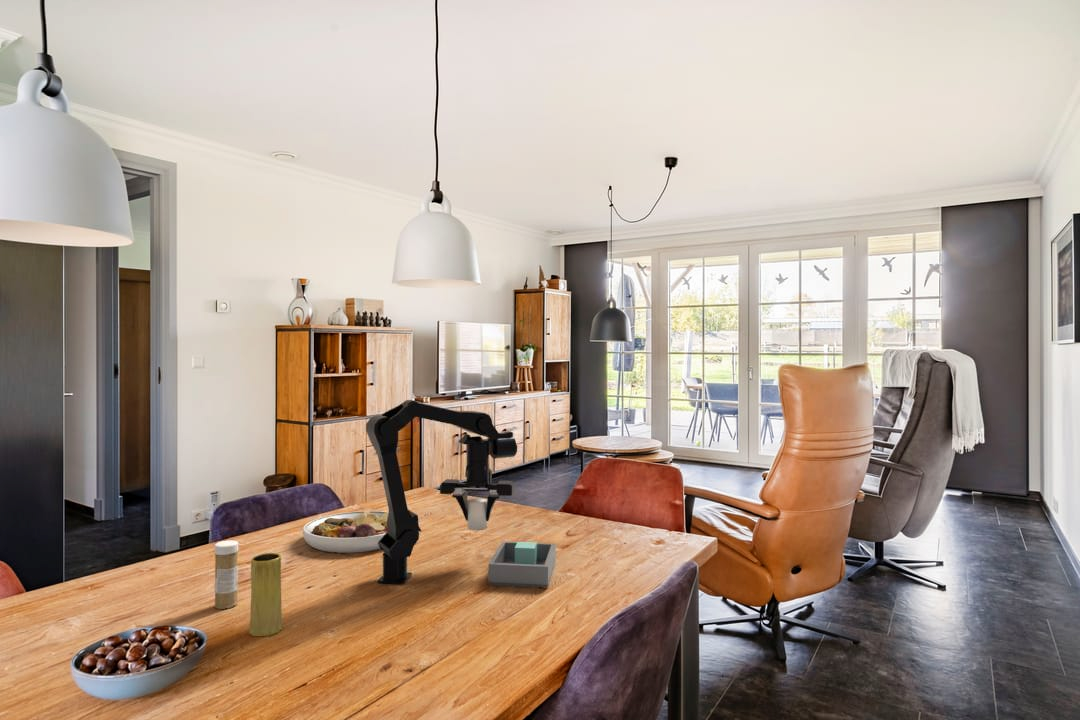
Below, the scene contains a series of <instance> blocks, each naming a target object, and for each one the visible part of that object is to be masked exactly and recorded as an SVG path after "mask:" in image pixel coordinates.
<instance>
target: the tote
mask: <svg viewBox="0 0 1080 720" xmlns="http://www.w3.org/2000/svg"><path fill="white" fill-rule="evenodd" d="M517 542H518V541H505V540H504V541H501V543H500V545H499V546H498V548H497V549H496V550H495V551H496V552H494V554H493V556H492V557H491V559H490V561H489V562H488V567H487V569H488V574H487V575H488V578H487V579H488V586H489V587H490V586H492V587H493V586H494V587H495V586H496V587H510V586H519V587H518V588H530V587H548V586H550V583H551V580H550V579H552V577H551V576H553V573H554V570H553V569H555V566H556V563H557V562H556V561H557V560H556V557H557V556H556V554H557V553H556V545H557V544H556V543H554V542H553V543H551V542H536V543H537V563H536V565H530V564H515V546H516V544H517ZM555 562H556V563H555ZM554 565H555V566H554ZM552 572H553V573H552ZM549 582H550V583H549ZM548 588H549V587H548Z"/></svg>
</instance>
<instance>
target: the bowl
mask: <svg viewBox="0 0 1080 720" xmlns="http://www.w3.org/2000/svg"><path fill="white" fill-rule="evenodd" d="M388 513H389V511H385V510H384V511H382V510H358V511H347V512H346V511H345V512H339V513H333V514H330V515H329V514H328V515H324V516H320V517H318V518H315V519H313V520H311V521H309V522H307V523H305V524H304V525H303V527H302V535H303V538H304V540H305V541H306V543H307V544H308V545H309V546H311V547H312V548H314V549H316V550H319V551H323V552H326V551H327V553H334V552H337V553H338V554H351V553H353V554H356V552H357V553H364V552H365V553H367V552H371V551H372V550H373V551H377V549H378V550H380V548H379V545H378V542H379V540H380V539H381V538H382V537H383V536H384V535H385V534H386V532H387V518H388ZM373 551H372V552H373Z"/></svg>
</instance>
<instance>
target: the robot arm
mask: <svg viewBox="0 0 1080 720" xmlns="http://www.w3.org/2000/svg"><path fill="white" fill-rule="evenodd" d="M415 418H420V419H425V420H429V421H434V422H439V423H444V424H448V425H452V426H454V427H457V428H459V429H460V430H462V431H466V432H468V433H470V434H473V435H474V434H475V436H471V435H470V434H467V433H465V434H464V435H463V436H462V437H461V438H460V439H459V440H458V443H459V444H462V445H466V465H465V476H464V477H465V478H466V481H465V482H463V483H462V482H460V480H459V479H457V478H456V479H455V478H454V479H452V478H450V479H449V478H447V479H445V480H444V481H442V482H440V485H439V494H440V495H452V498H453V499H454V498H455V499H456V501H457V503H458V505H459V506H460V508H461V511H462V514H463V516H464V519H465V521H466V522H468V500H469V499H468V497H469V496H468V492H471V491H472V492H475V491H476V492H489V495H488V496H487V499H486V500H487V513H486V520H487V522H489V521H490V518H491V514H492V511H493V508H494V505H495V503H496V501H497V500H499V499H500V498H501V497H502V496H504V497H505V496H507V497H510V496H513V495H514V493H515V491H516V487H515V486H516V485H515V484H516V483H515V482H514V481H513V480H499V481H498V482H497V483H492V480H493V479H492V477H493V470H492V469H491V468H490V460H489V457H491V458H492V459H505V458H513V457H515V456H516V455H517V452H518V445H517V441H516V439H515V437H514V432H513V431H504V432H499V431H498V430H497V428H495V426H494V425H493V420H492V418H491V415H490V414H489V413H486V412H482V411H475V410H453V409H449V408H445V407H442V406H441V407H440V406H436V405H431V404H427V403H422V402H419V401H417V400H414V399H406V400H405V401H403V402H402V403H400V404H399V405H397V406H395V407H393V408H391V409H389V410H387V411H384V412H383V413H382V414H381V415H380V414H376V415H373V416H371V417H370V418H369V419H368V421H367V422H366V425H365V431H366V434H367V437H368V440H369V441H370V444H371V446H373V449H374V450H375V453H376V456H377V458H378V462H379V468H380V473H381V478H382V483H383V488H384V492H385V497H386V498H385V499H386V503H387V509H388V512H389V513H388V518H387V532H386V534H385V535H384V536H383V537H382V538H381V539H380V540H379V542H378V545H379V548H380V549H379V551H381V552H382V575H381V576H380V577H379V578H378V579H377V581H376V582H377V583H379V584H397V585H398V584H399V585H403V584H405V583H406V582H407V581H408V580H409V579H410V578H411V576H412V575H413V573H412V572H409V571H408V558H409V557H411V555H412V552H413V549H414V547H415V545H416V544H417V543H418V541H419V539H420V533H421V532H422V529H421V527H420V526H419V515H418V514H417V513H415V512H413V511H411V509H409V508H408V503H407V498H406V494H405V489H404V484H403V479H402V474H401V468H400V464H399V459H398V454H397V452H398V451H397V450H398V444H399V431H401V430H402V429H404V428H405V427H406V426H407V425H408V424H410V423H411V421H413V420H414V419H415ZM476 435H478V436H476ZM483 437H485V439H484V438H483Z"/></svg>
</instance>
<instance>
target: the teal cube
mask: <svg viewBox="0 0 1080 720" xmlns="http://www.w3.org/2000/svg"><path fill="white" fill-rule="evenodd" d="M516 542H517V544H516V546H515V564H530V565H536V563H537V543H538V542H534V541H516Z"/></svg>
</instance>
